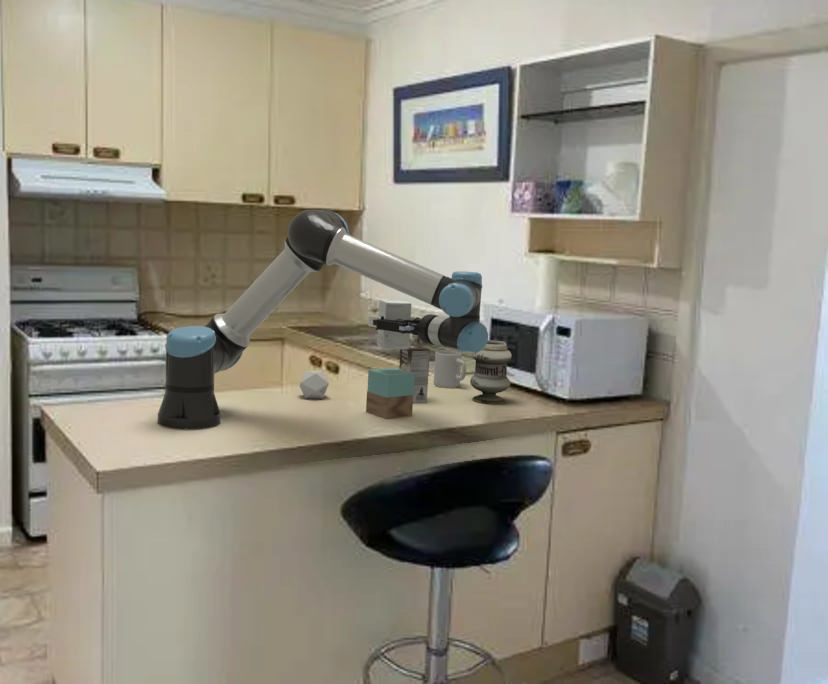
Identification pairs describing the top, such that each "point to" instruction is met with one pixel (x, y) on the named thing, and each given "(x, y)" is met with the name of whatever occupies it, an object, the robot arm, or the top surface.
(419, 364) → the coffee box
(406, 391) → the block upper
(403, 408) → the block lower
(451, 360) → the mug
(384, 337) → the supplement box
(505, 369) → the apothecary jar
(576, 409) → the top surface
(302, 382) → the die
